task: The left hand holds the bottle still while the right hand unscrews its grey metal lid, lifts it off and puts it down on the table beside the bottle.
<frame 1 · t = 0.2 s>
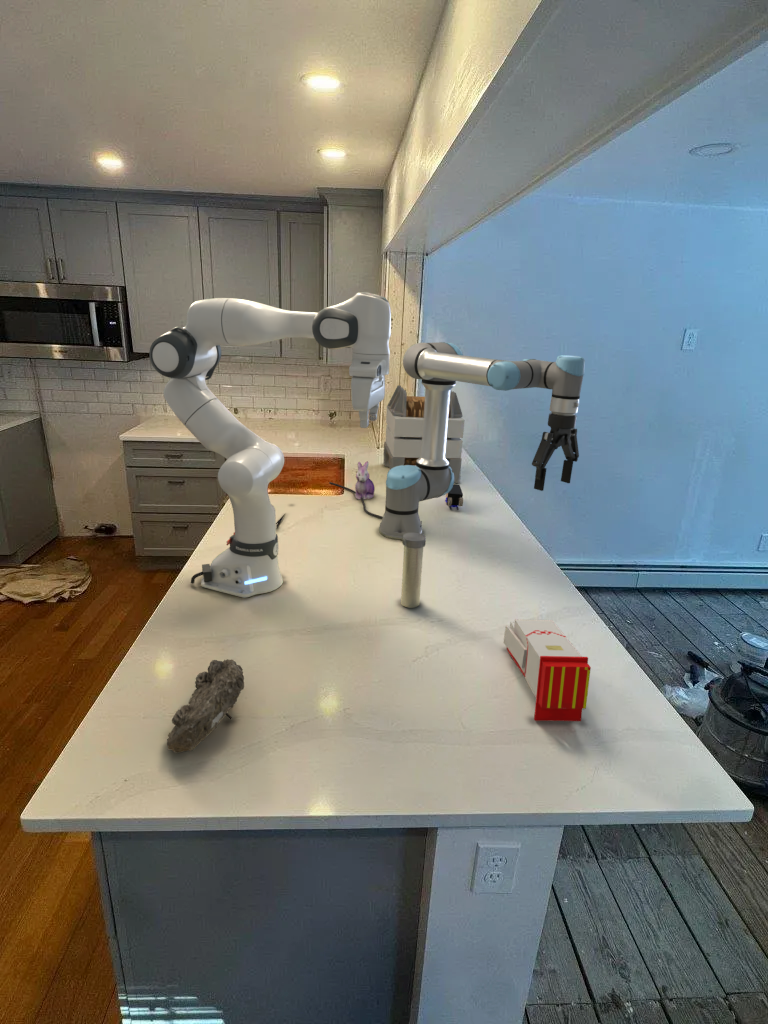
left hand: (368, 423, 139), 48 cm above the counter, tool pointing down, fingers open, 8 cm apart
right hand: (552, 485, 166), 28 cm above the counter, tool pointing down, fingers open, 13 cm apart
figurine character: (452, 506, 231), on the counter
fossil: (212, 717, 108), on the counter
feather: (283, 517, 211), on the counter
bottle: (410, 603, 153), on the counter
figurine: (364, 497, 237), on the counter
toy: (537, 679, 124), on the counter
lid: (414, 537, 147), point 19 cm above the counter, screwed on, not yet turned
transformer: (419, 473, 275), on the counter
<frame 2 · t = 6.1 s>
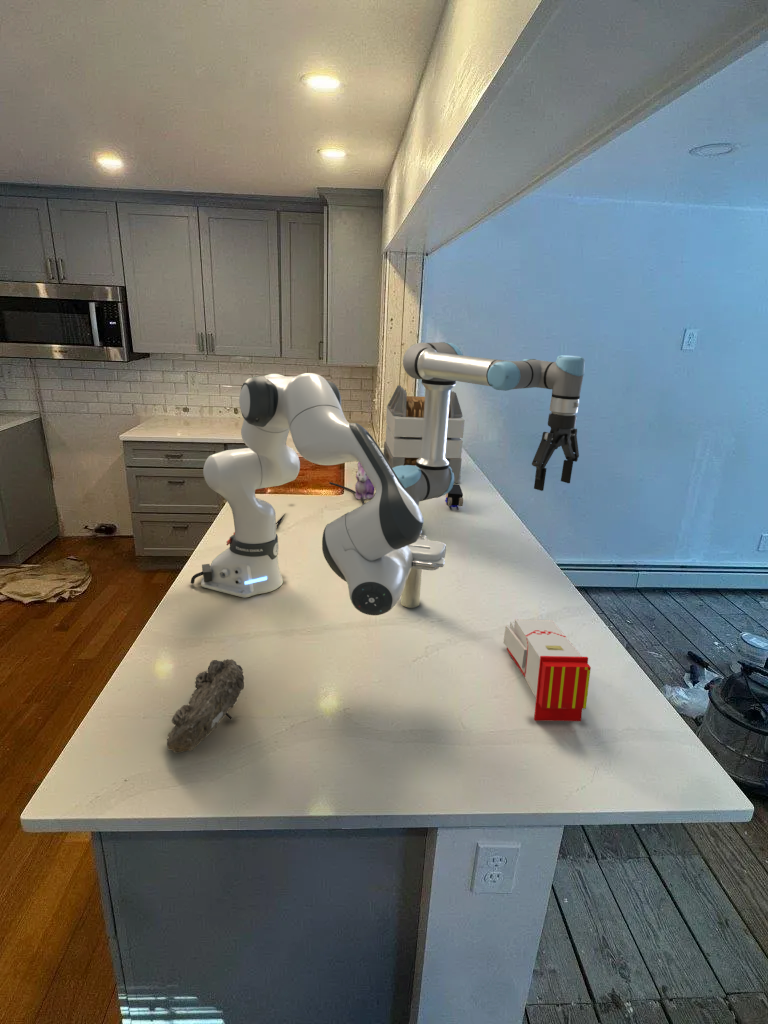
left hand: (401, 535, 122), 29 cm above the counter, tool horizontal, fingers open, 8 cm apart
right hand: (552, 485, 166), 28 cm above the counter, tool pointing down, fingers open, 13 cm apart
nothing on the counter moved.
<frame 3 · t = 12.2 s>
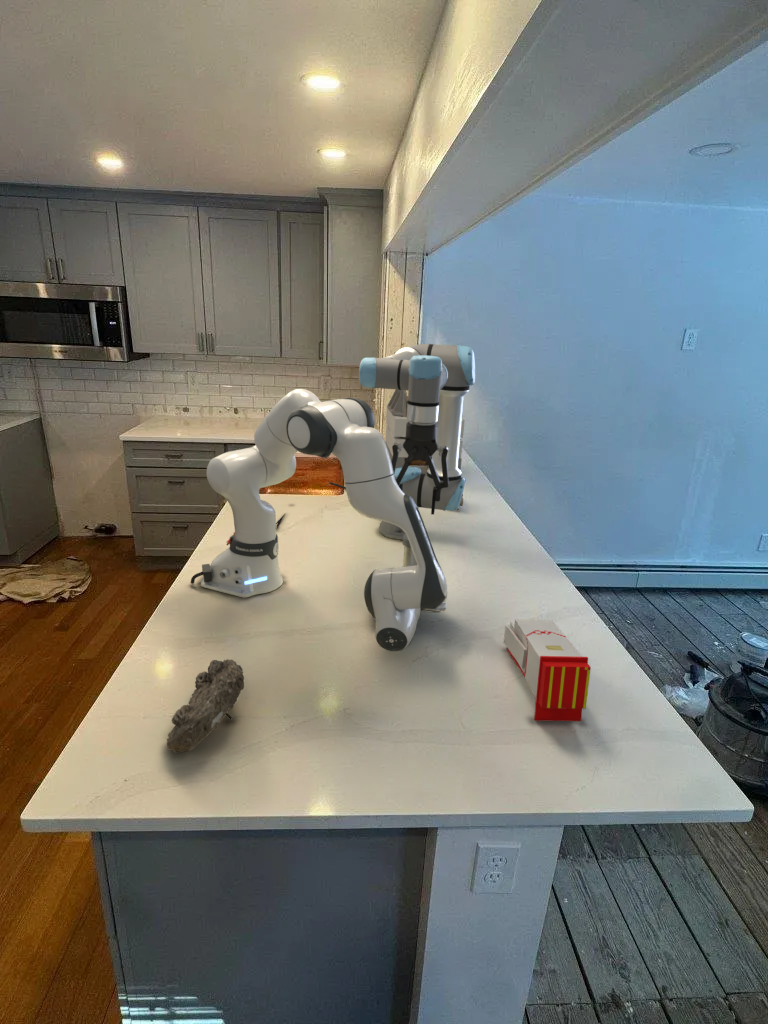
left hand: (411, 581, 152), 6 cm above the counter, tool horizontal, fingers closed on bottle, 5 cm apart
right hand: (416, 511, 144), 27 cm above the counter, tool pointing down, fingers open, 8 cm apart
bottle: (410, 603, 153), on the counter, touching left hand
everything else where it was.
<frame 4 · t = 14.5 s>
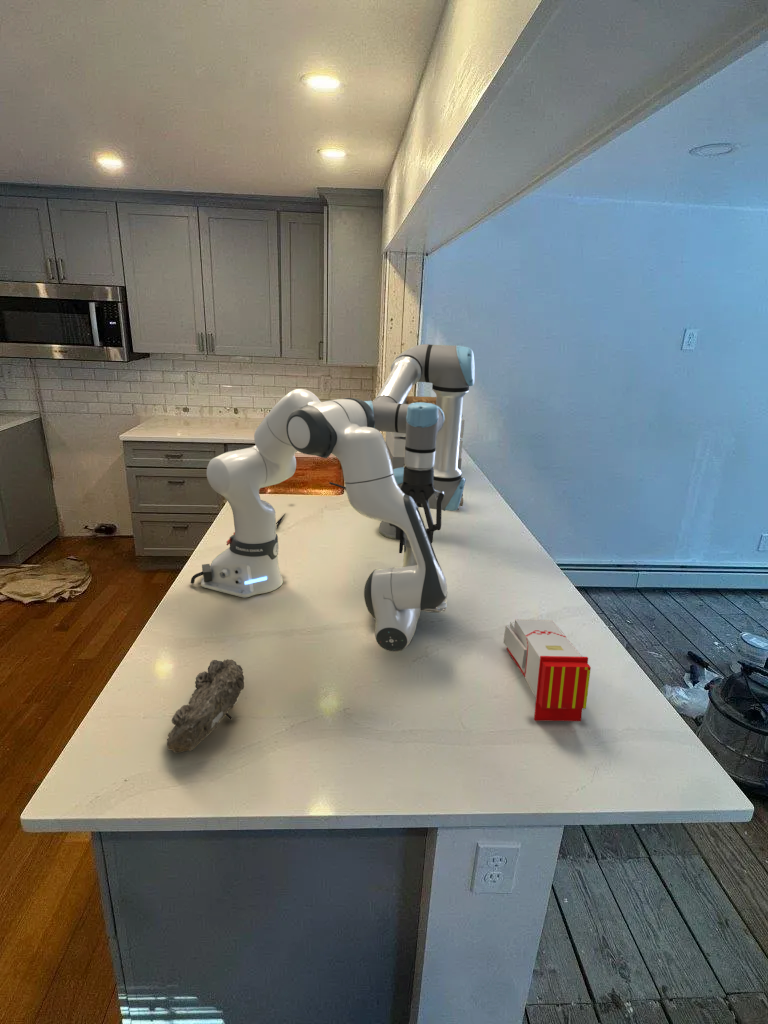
left hand: (411, 581, 152), 6 cm above the counter, tool horizontal, fingers closed on bottle, 5 cm apart
right hand: (413, 552, 148), 15 cm above the counter, tool pointing down, fingers closed on lid, 6 cm apart
bottle: (410, 603, 153), on the counter, touching left hand
lid: (414, 537, 147), point 19 cm above the counter, screwed on, not yet turned, touching right hand
everything else where it was.
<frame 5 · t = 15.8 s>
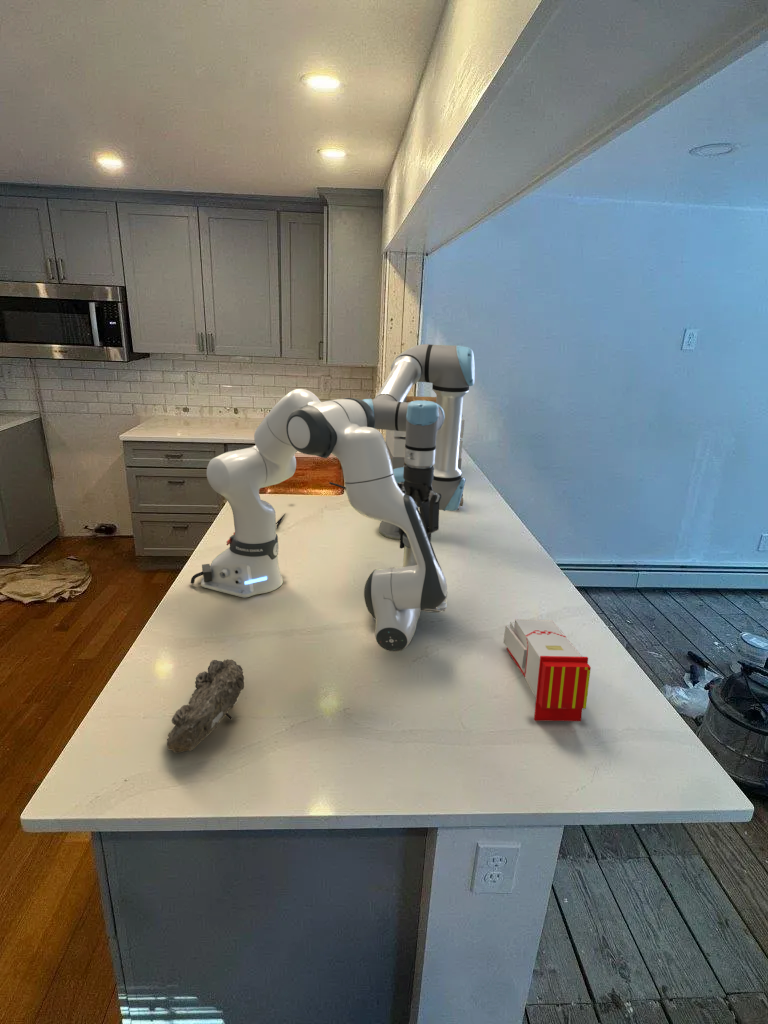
left hand: (411, 581, 152), 6 cm above the counter, tool horizontal, fingers closed on bottle, 5 cm apart
right hand: (413, 550, 148), 16 cm above the counter, tool pointing down, fingers closed on lid, 6 cm apart
bottle: (410, 603, 153), on the counter, touching left hand
lid: (414, 536, 146), point 20 cm above the counter, off its thread, touching right hand
everything else where it was.
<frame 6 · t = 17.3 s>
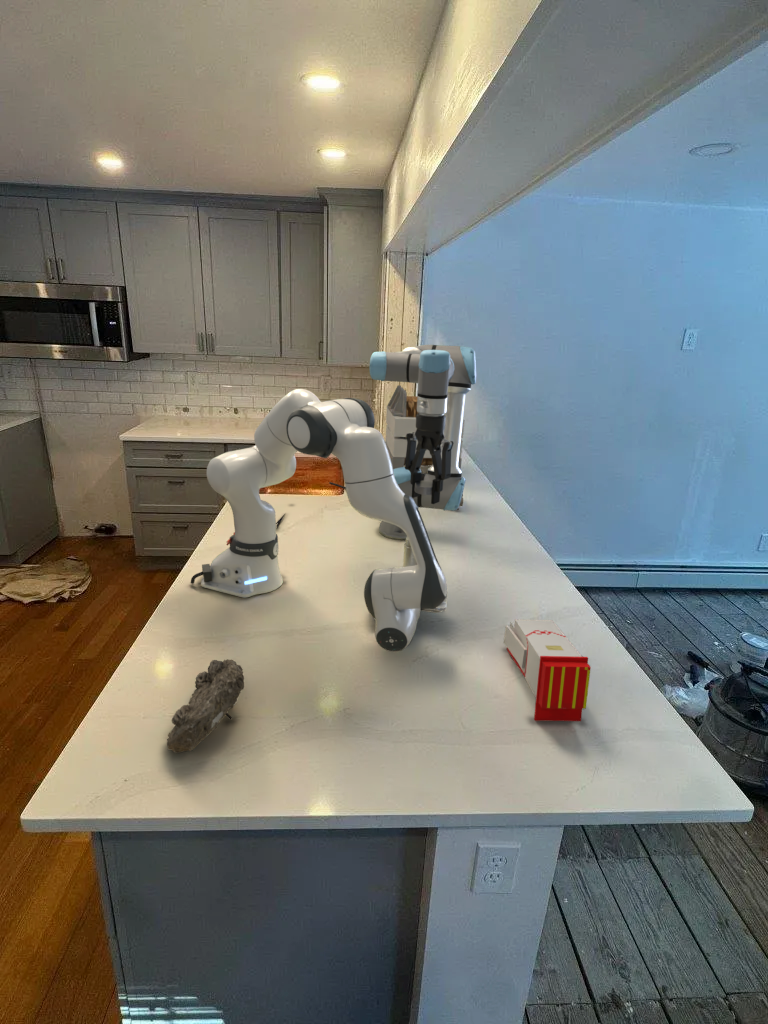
left hand: (411, 581, 152), 6 cm above the counter, tool horizontal, fingers closed on bottle, 5 cm apart
right hand: (425, 499, 152), 27 cm above the counter, tool pointing down, fingers closed on lid, 6 cm apart
bottle: (410, 603, 153), on the counter, touching left hand
lid: (426, 485, 150), point 31 cm above the counter, off its thread, touching right hand
everything else where it was.
when the right hand's fingers open (0 cm above the counter, at t = 22.0 s): lid drops 2 cm, point 2 cm above the counter.
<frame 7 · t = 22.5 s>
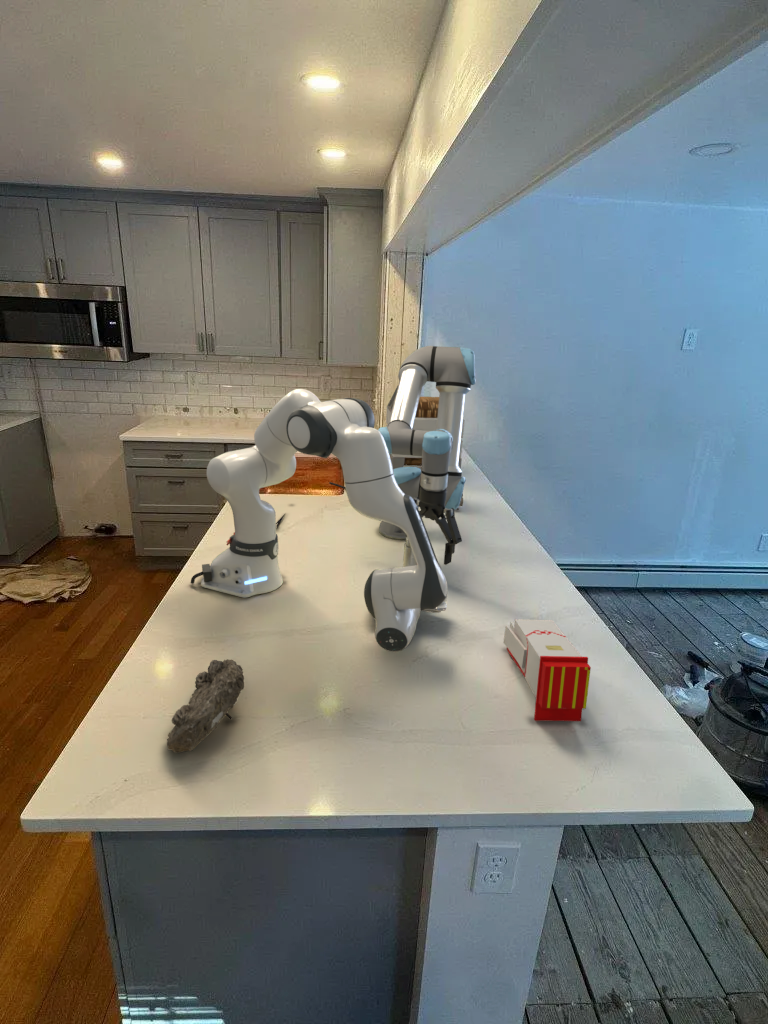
left hand: (411, 581, 152), 6 cm above the counter, tool horizontal, fingers closed on bottle, 5 cm apart
right hand: (428, 555, 166), 7 cm above the counter, tool pointing down, fingers open, 13 cm apart
bottle: (410, 603, 153), on the counter, touching left hand
lid: (426, 573, 167), point 2 cm above the counter, off its thread
everything else where it was.
when the left hand's fingers open (6 cm above the counter, at t = 22.7 s): bottle stays where it is, on the counter.
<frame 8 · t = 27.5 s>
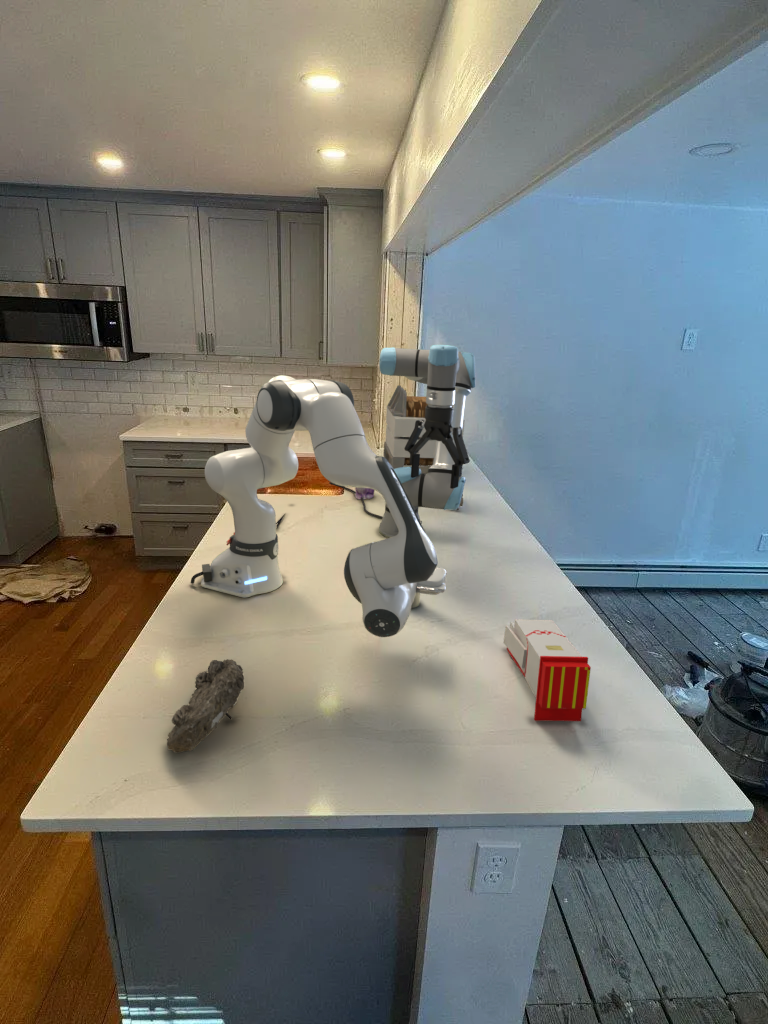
left hand: (406, 561, 135), 18 cm above the counter, tool horizontal, fingers open, 8 cm apart
right hand: (433, 482, 158), 30 cm above the counter, tool pointing down, fingers open, 13 cm apart
bottle: (410, 603, 153), on the counter
everything else where it was.
at the end: lid came off its thread; lid point 1.7 cm above the counter; the left hand is holding nothing; the right hand is holding nothing; bottle tilted 0°; bottle moved 0.0 cm from its start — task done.
